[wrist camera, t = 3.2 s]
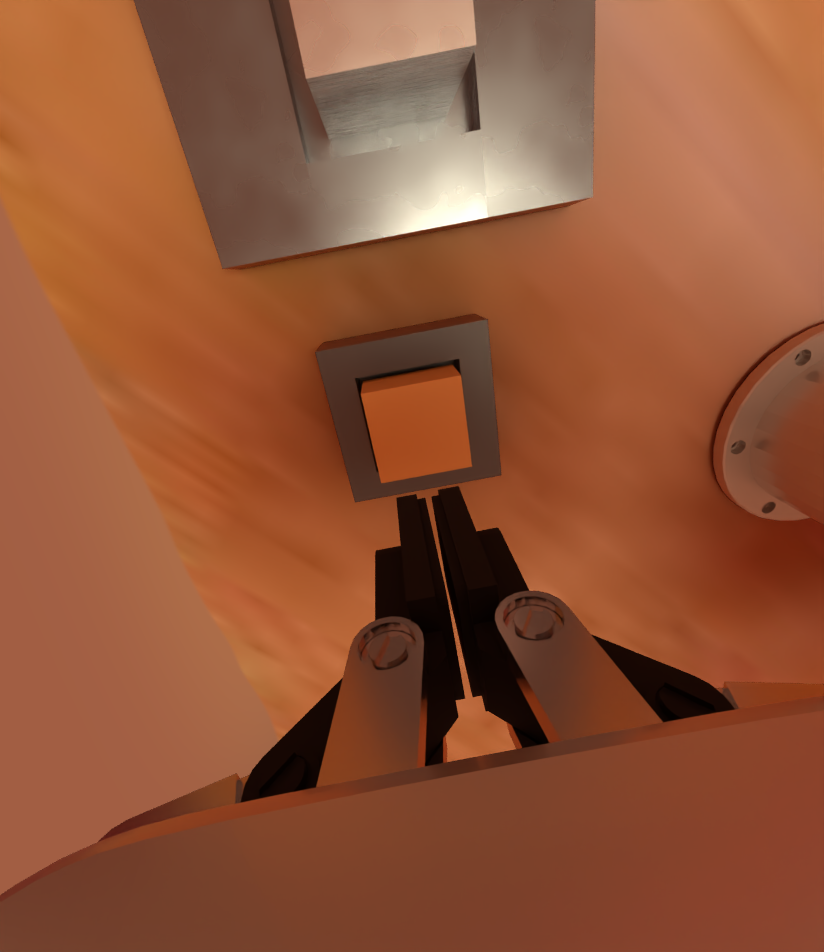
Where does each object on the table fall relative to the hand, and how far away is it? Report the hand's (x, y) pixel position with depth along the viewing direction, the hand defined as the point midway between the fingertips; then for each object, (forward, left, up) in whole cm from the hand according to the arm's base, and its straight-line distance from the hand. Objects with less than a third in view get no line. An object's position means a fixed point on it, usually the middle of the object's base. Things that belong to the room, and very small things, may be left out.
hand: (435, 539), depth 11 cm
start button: (0, 0, -11) cm, 11 cm away
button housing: (0, 0, -14) cm, 14 cm away
